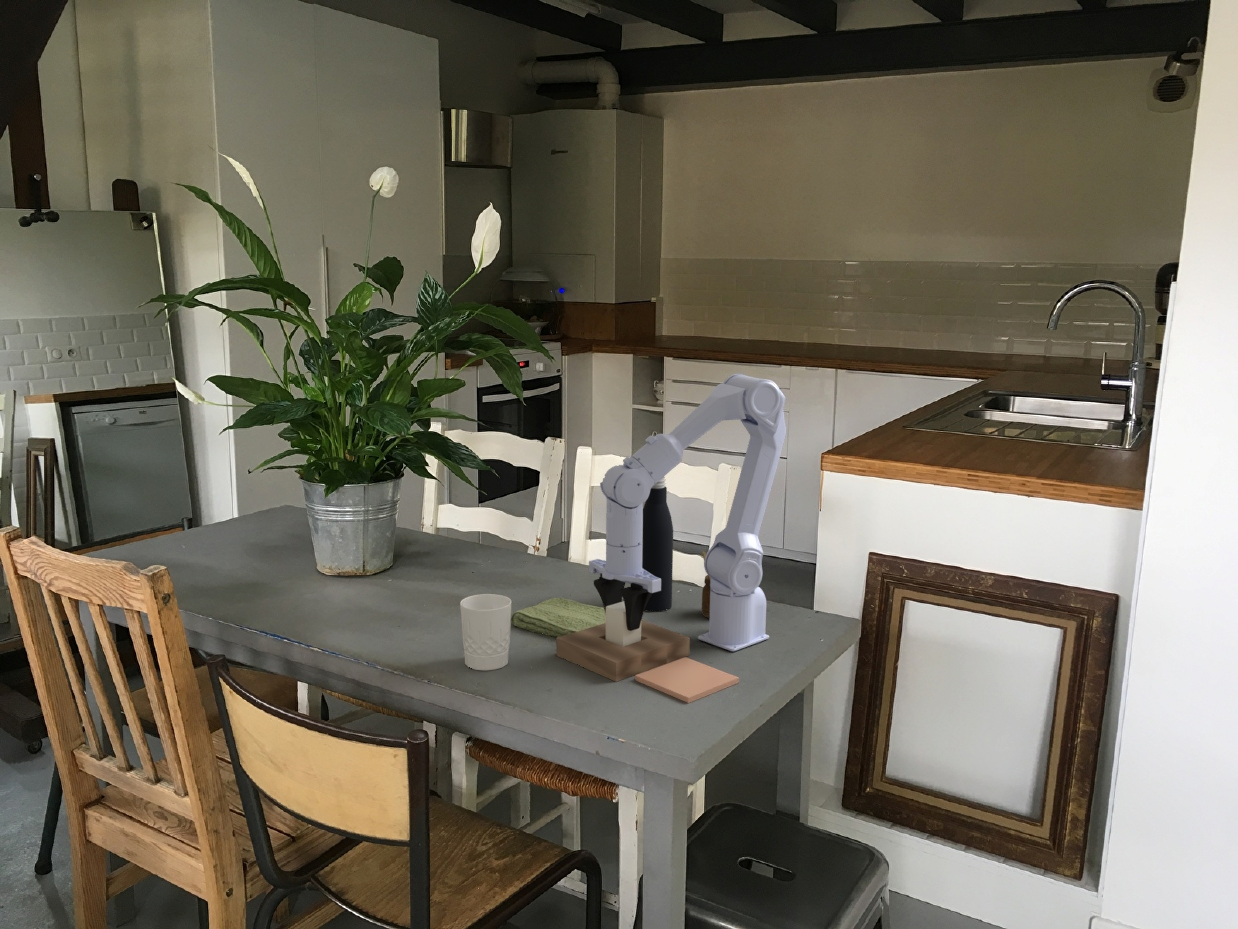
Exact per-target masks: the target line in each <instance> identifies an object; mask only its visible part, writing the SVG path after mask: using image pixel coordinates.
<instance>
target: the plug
mask: <svg viewBox="0 0 1238 929" xmlns="http://www.w3.org/2000/svg"><path fill="white" fill-rule="evenodd" d="M606 640H607V641H609V642H612V643H614V644H617V645H619V646H622V647H623V646H626V645H629V644H632V643H635V642H638V641H641V623H640V627H639V628H638V629H635V630H632V631H629V630H628V629H627V624H626V609H625V604H624V600H623V601H622V602H619V603H616V604H613V605H609V606H606Z"/></svg>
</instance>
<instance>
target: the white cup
mask: <svg viewBox="0 0 1238 929" xmlns="http://www.w3.org/2000/svg"><path fill="white" fill-rule="evenodd" d="M459 604H460V605H459V606H460V607H459V608H460V620H461V622H460V623H461V635H462V646H463V649H464V651H463V654H464V665H465V666H467V668H469V667H470V669H471V668H472V670H474V671H475V670H476V671H495V670H499V669H501V668H504V667H505V666H506V665H508V663H509V648H510V646H511V645H510V644H511V642H510V640H511V627H512V626H511V624H512V622H511V617H512V599H511V598H510V597H508V596H506V595H502V594H493V593H483V594H482V593H480V594H474V595H470V596H466V597H464V598H463V599H461V601H460V602H459Z"/></svg>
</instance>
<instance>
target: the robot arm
mask: <svg viewBox="0 0 1238 929" xmlns="http://www.w3.org/2000/svg"><path fill="white" fill-rule="evenodd" d="M786 400H787V399H786V396H785V395H784V394H783V392H782V390H781V389H780V388H779V386H778V384H776V382H774V381H773V380H771V379H767V378H766V379H765V378H758V377H753V376H750V375H749V376H748V375H746V374H744V373H733V374H731V375H729V376H728V377H727V378H725V379H724V381H723V382H721V383H719V384H718V385H716V386H714V388H713V390H712V391H711V393H710V395H709V396H708V397H707V398H705V400H703V401H702V402H701V403H700V404H699V405H698V406H697V407H696V408H695V409H694V410H693V411H692V412H691V413H690V414H689V415H688V416H686V417H685V418H684V420H683V421H681V422H680V423H679V424H678V425H677V426H676V427H675V428H673V430H672V431H670V433H657V434H656V435H654V436H653V435H649V436H648V437H647V438H646V439H644V441H645V442H646V443H645V444H644V445H643V446H641V447H640V448H639V449H638V450H637V451H636V452H635V453H633V454H632V455H631V456H630V457H629V456H626V457H625V458H624V459H622V462H623V464H618V465H614V466H612V467H610V468H609V469H608V470H607V471H606V473H605V474H604V477H603V478H602V481H601V482H600V483H599V485H600V490H601V492H602V494H603V495H604V496H605V498H606V513H605V514H606V515H605V518H606V519H605V525H606V526H605V560H604V559H600V558H595V559H591V560H589V561H588V573H590V574H599V577H598V578H597V579H595V580H594V579H593V586H594V588H595V589H596V591H597V592H598V595H599V596H600V599H601V600H600V601H601V602H602V605H603V608H604V609H605V613H606V606H609V605H613V604H616V603H619V602H623V601H624V604H625V609H626V624H627V629H628V630H629V631H632V630H635V629H638V628H639V627H640V623H641V620H643V616H644V612H645V607H646V605H647V603H648V601H649V599H650V597H651V596H652V594H653V593H654V592H658V591H661V578H658V577H655V576H654V575H652V574H651V573H649V572H647V571H646V570H644V569H643V568H642V545H643V543H642V540H643V508H644V504H645V502H646V500H647V499H648V497H649V494H650V489H651V487H652V486H653V485H655V484H656V483H657V482H658V481H659V480H660V479H662V478H663V477H665V476H666V475H668V474H669V473H670V472H671V471H672V470H674V468H676V467H677V466H678V465H679V464H680V463H682V460H683V456H684V455H683V454H684V450H685V449H687V448H688V447H690V446H691V445H692V444H693V443H694V442H695V443H696V441H697V440H699V439H701V437H702V436H704V435H705V434H707V433H708V432H709V431H710V430H712V429H714V428H715V427H716V426H717V425H719V424H720V423H721V422H723V421H733V420H735V421H736V420H737V421H738V420H740V422H741V423H742V425H743V426H744V428H745V430H746V431H747V433H748V435H749V441H748V445H747V449H746V452H745V455H744V460H743V462H742V463H743V464H742V466H741V471H740V473H739V477H738V481H737V485H736V489H735V493H734V496H733V499H732V503H731V508H730V512H729V515H728V518H727V522H726V525H725V528H724V529H722V530H721V531H720V532H718V533H717V534H716V535H715V538H714V541H713V544H712V546H711V547H710V548H709V549H708V551H707V552H706V556H705V559H704V558H703V568H704V571H705V573H706V574H707V575H709V576H710V577H711V579H710V618H708V620H709V626H708V627H709V628H708V632H706V633H703V634H700V635H698V636H697V639H698V640H700V641H703V642H706V643H708V644H710V645H713V646H716V647H719V648H722V649H725V650H726V651H727V650H728V651H730V652H736V651H738V650H742V649H745V648H746V647H750V646H751V645H755V644H758V643H761V642H763V641H765V640H768V639H770V635H769V634H766V625H767V624H766V623H767V619H766V618H767V598H766V595H765V593H764V591H763V589H762V587H759V586H760V584H761V582H762V580H763V573H764V572H763V567H762V561H763V556H764V551H763V548H762V545H761V542H760V540H759V534H760V530H761V526H762V525H763V524H762V523H763V519H764V516H765V512H766V509H767V505H768V502H769V499H770V498H769V497H770V494H771V490H772V487H773V483H774V480H775V476H776V472H777V468H778V465H779V461H780V458H781V454H782V450H783V447H784V443H785V440H786V435H787V425H786V419H785V413H784V407H785V404H786V403H785V402H786ZM626 584H629V585H630V586H627V587H625V586H626ZM622 600H623V601H622Z"/></svg>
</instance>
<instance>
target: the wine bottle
mask: <svg viewBox="0 0 1238 929" xmlns="http://www.w3.org/2000/svg"><path fill="white" fill-rule="evenodd" d="M666 484H667V483H666V478H665V476H664V477H663V478H662V479H660V480H659V481H658V482H657V483H656V484H655V485H653V486H652V487H651V489H650V494H649V497H648V499H647V500H646V501H645V502H644V504H643V540H642V543H643V545H642V568H643V569H644V570H646V571H647V572H649V573H651V574H652V575H654V576H655V577H658V578H661V591H658V592H654V593H653V594H652V596H651V597H650V599H649V601H648V603H647V605H646V607H645V610H647V612H654V611H656V612H663V610H665V611H667V610H666V609H668V610H670V609H671V608H672V605H673V562H674V561H673V560H674V559H673V558H674V556H673V555H674V525H673V521H672V515H671V512H670V508H669V506H668V503H667V498H668V497H667V494H668V492H667V491H668V489H667V488H668V487H667V486H666ZM645 610H644V611H645Z"/></svg>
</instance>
